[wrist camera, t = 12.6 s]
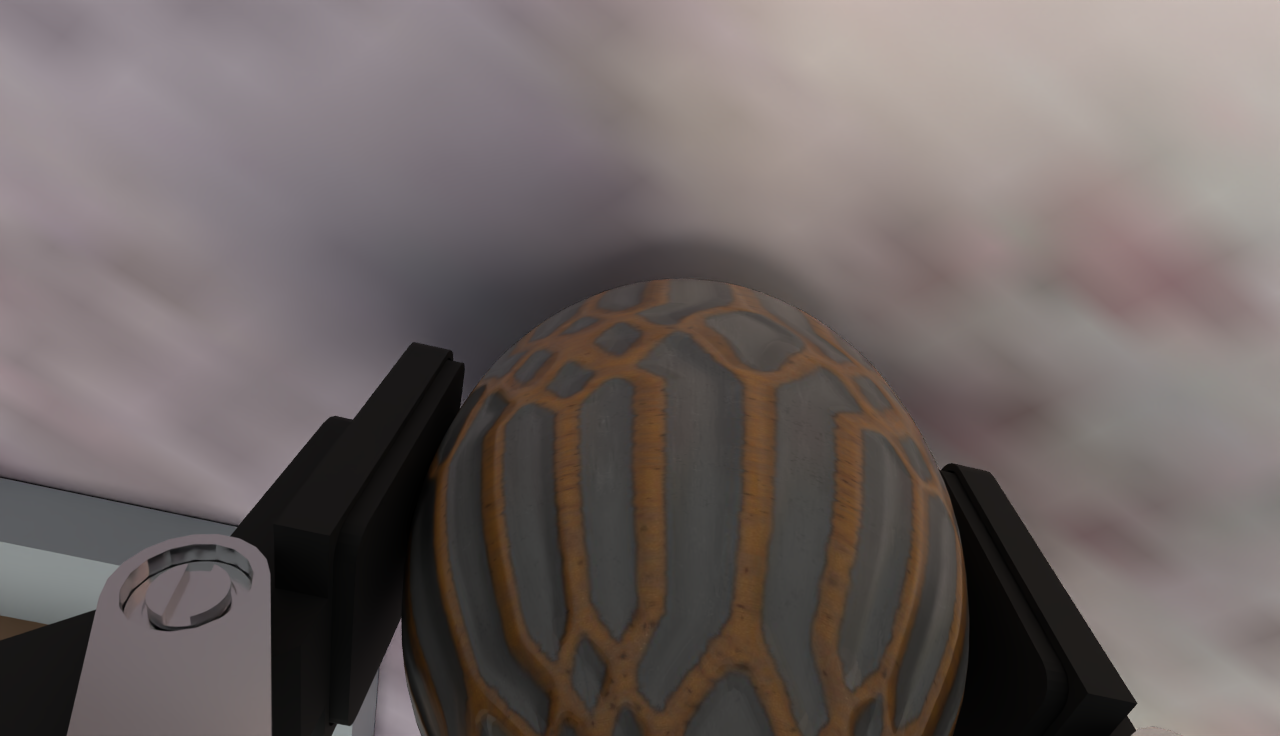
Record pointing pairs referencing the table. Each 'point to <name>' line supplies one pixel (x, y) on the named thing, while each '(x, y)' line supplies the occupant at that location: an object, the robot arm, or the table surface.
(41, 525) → the build plate
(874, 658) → the vase
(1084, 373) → the table surface
